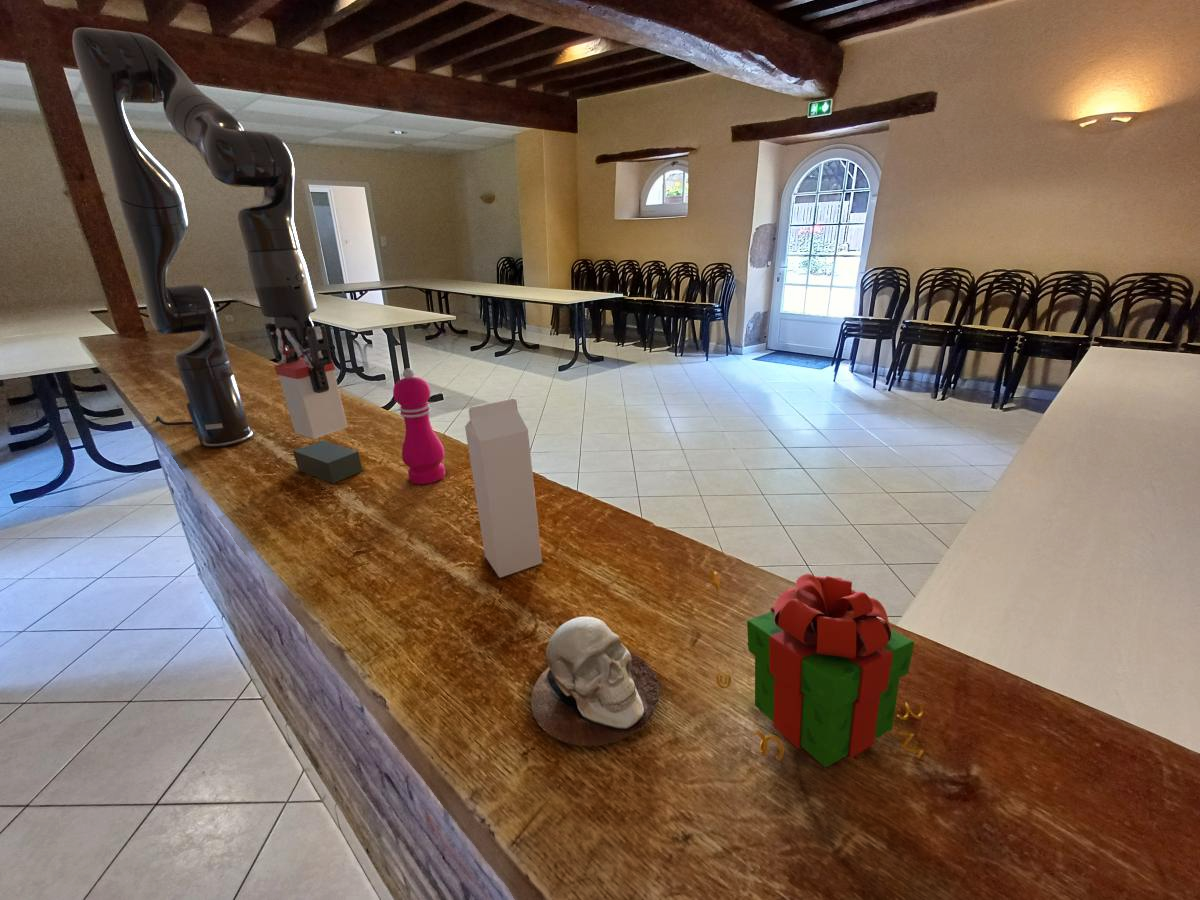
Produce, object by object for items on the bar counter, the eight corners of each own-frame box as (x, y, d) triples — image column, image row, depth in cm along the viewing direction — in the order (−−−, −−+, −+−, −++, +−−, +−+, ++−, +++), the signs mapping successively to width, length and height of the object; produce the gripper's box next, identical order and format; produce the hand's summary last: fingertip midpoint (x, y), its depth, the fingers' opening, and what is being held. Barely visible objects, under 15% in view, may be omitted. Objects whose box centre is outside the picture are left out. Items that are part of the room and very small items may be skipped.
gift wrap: (802, 644, 59) (809, 520, 56) (987, 768, 43) (1014, 604, 39) (644, 712, 51) (639, 571, 47) (801, 898, 35) (813, 705, 31)
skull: (695, 690, 50) (635, 662, 44) (629, 787, 49) (558, 774, 43) (617, 617, 60) (558, 585, 53) (560, 699, 59) (493, 676, 52)
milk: (542, 563, 73) (527, 404, 64) (498, 579, 70) (476, 415, 61) (524, 542, 77) (508, 392, 69) (483, 556, 75) (460, 401, 66)
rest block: (333, 483, 99) (327, 463, 97) (298, 469, 105) (292, 450, 104) (362, 471, 103) (358, 451, 102) (327, 458, 110) (322, 440, 108)
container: (336, 450, 92) (267, 416, 82) (316, 443, 95) (247, 410, 85) (371, 385, 95) (309, 345, 85) (350, 381, 98) (288, 342, 88)
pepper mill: (453, 468, 102) (436, 362, 95) (439, 485, 96) (419, 373, 88) (416, 468, 103) (396, 363, 96) (400, 485, 97) (376, 374, 89)
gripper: (234, 284, 84) (265, 389, 91) (281, 285, 76) (312, 401, 83) (283, 278, 90) (309, 378, 96) (332, 279, 82) (357, 388, 88)
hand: (310, 388), depth 89 cm, fingers closed on container, 6 cm apart
